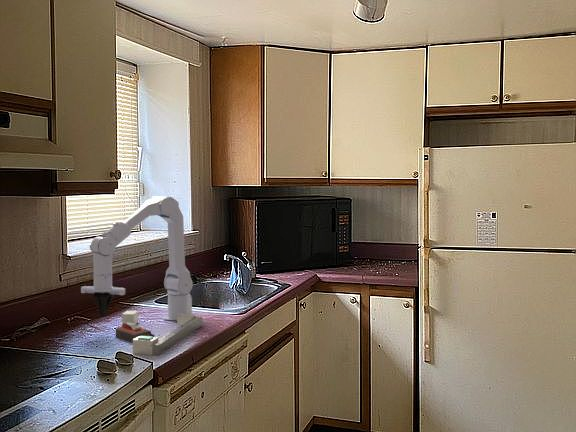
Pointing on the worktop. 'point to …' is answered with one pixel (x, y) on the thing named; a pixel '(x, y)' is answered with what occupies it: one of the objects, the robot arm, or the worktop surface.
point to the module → (130, 317)
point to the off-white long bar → (167, 336)
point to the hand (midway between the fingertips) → (103, 316)
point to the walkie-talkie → (131, 331)
